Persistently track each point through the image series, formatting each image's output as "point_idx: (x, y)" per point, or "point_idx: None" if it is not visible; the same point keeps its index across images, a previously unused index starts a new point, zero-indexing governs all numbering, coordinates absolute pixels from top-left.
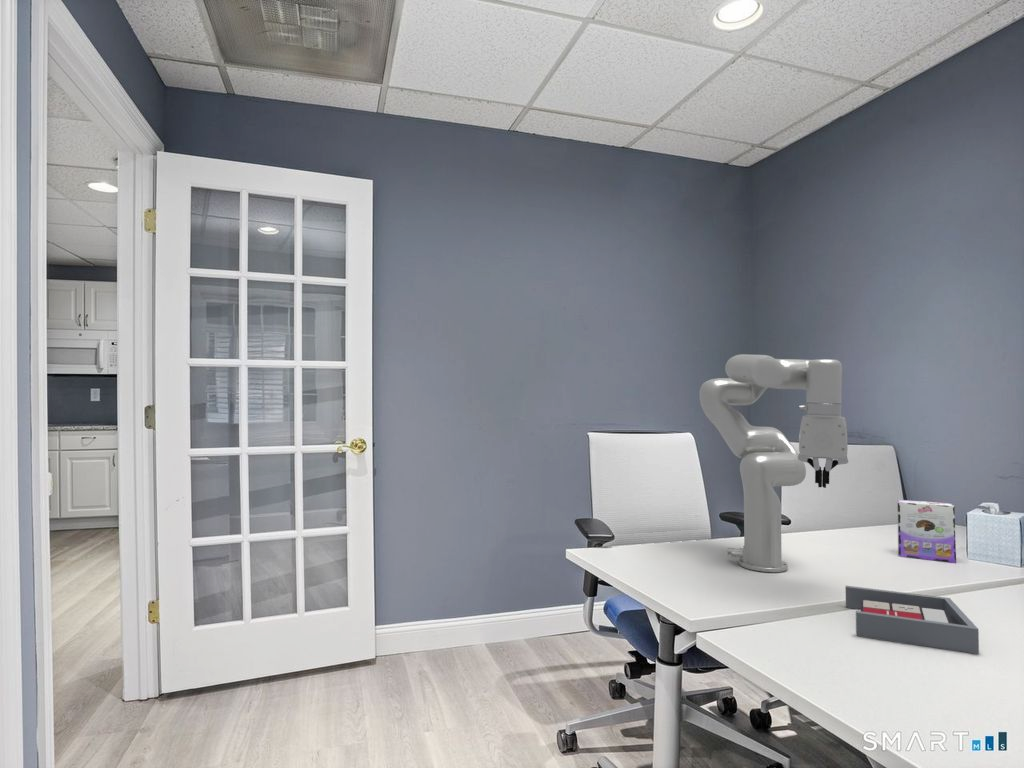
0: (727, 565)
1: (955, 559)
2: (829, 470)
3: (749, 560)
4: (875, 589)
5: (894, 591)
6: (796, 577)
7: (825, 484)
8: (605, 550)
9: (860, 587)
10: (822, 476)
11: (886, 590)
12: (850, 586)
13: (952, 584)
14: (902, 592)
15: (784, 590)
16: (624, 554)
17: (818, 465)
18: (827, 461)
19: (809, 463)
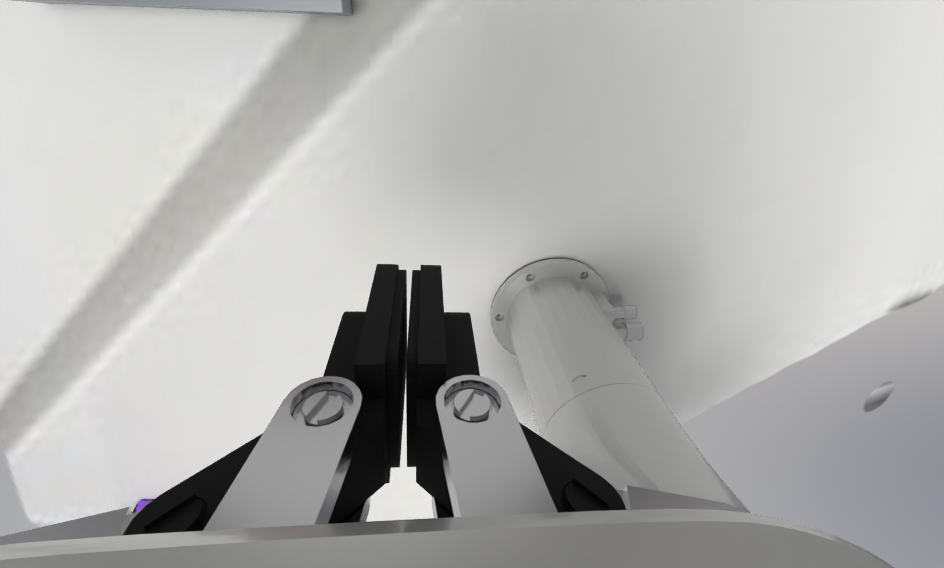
0: (634, 280)
1: (135, 507)
2: (309, 386)
3: (590, 292)
4: (240, 3)
5: (175, 4)
6: (474, 251)
7: (379, 273)
8: (916, 277)
9: (291, 8)
10: (402, 392)
11: (203, 5)
12: (325, 5)
13: (116, 356)
14: (148, 3)
15: (518, 107)
16: (878, 264)
17: (455, 430)
18: (305, 511)
19: (576, 467)
